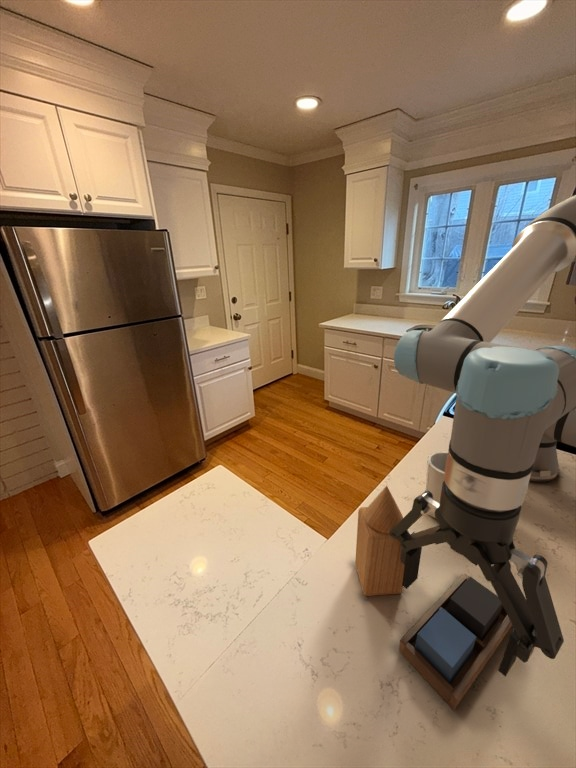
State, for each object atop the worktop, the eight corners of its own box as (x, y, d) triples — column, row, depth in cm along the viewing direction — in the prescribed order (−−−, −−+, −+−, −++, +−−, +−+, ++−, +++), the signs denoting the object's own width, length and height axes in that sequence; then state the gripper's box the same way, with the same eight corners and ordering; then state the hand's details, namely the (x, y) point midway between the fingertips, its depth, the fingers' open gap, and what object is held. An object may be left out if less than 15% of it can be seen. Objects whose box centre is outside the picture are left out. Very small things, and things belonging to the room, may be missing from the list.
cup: (459, 494, 75) (468, 450, 71) (481, 523, 67) (492, 476, 62) (414, 495, 75) (420, 451, 71) (431, 525, 67) (439, 477, 63)
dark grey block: (465, 593, 53) (470, 575, 51) (498, 618, 49) (504, 600, 48) (446, 615, 50) (449, 597, 48) (479, 644, 46) (484, 626, 44)
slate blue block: (437, 624, 48) (441, 606, 47) (471, 655, 45) (476, 636, 43) (414, 651, 45) (417, 633, 44) (448, 687, 41) (452, 668, 40)
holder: (461, 581, 55) (463, 572, 54) (515, 621, 49) (518, 611, 48) (398, 649, 46) (399, 640, 45) (454, 710, 40) (457, 700, 39)
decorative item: (364, 598, 53) (371, 501, 46) (354, 562, 59) (359, 473, 52) (403, 595, 53) (417, 498, 46) (389, 560, 59) (399, 470, 52)
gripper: (369, 453, 42) (363, 568, 50) (630, 600, 23) (554, 747, 31) (404, 434, 46) (393, 543, 54) (651, 547, 27) (579, 690, 35)
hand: (452, 618), depth 43 cm, fingers open, 12 cm apart
